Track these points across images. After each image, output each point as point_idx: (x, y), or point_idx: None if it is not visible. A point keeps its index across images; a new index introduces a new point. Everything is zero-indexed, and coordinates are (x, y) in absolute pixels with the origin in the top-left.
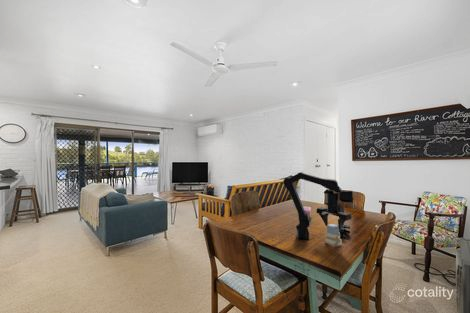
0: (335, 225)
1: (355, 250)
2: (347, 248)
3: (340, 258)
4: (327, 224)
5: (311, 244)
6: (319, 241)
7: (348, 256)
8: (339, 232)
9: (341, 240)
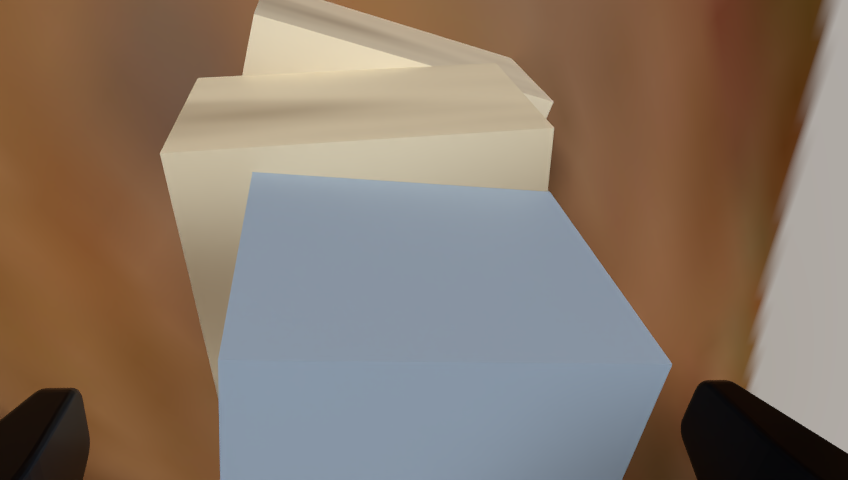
0: (503, 423)
1: (782, 73)
2: (644, 110)
3: (646, 455)
4: (52, 446)
5: (136, 451)
6: (100, 256)
7: (716, 348)
8: (539, 137)
9: (543, 97)
